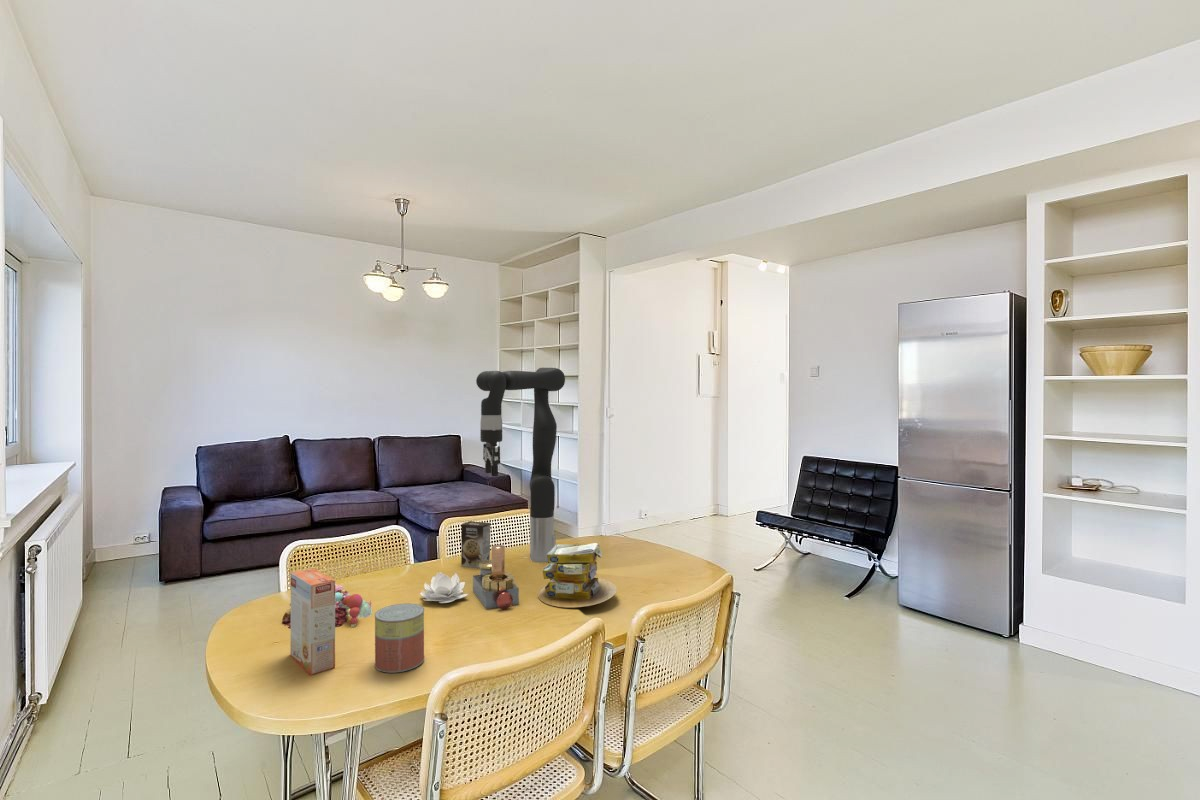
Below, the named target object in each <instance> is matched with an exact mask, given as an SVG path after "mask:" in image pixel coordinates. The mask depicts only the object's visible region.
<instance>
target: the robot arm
mask: <svg viewBox="0 0 1200 800" xmlns="http://www.w3.org/2000/svg"><path fill="white" fill-rule="evenodd" d="M475 381H476V383H475V384H476V386H477V388H478V389H480V390H481V391H484V392H488V396H487V397H486V398H483V399H482V400H481V403H480V411H481V412H480V424H479V425H480V437H479V438H480V442H481V443H483V444H482V445H483V447H482V448H483V449H482V451H483V452H482V453H483V456H482V457H483V458H482V459H483V461H484V464H485V465H484V472H485V473H486V474H491V477H497V476H499V465H500V464H501V446H499V445H498V443H500V442H503V414H502V410H503V409H502V408H503V407H502V402H503V399H504V396H505V392H506V391H519V390H531V389H533V395H534V397H533V399H534V400H533V401H534V409H533V424H532V425H533V427H532V469H531V474H530V475H531V476H530V480H529V489H530V507H529V508H530V510H529V543H530V544H529V549H530V550H529V555H530V556H529V559H530V561H531V560H532V562H534V563H542V562H543V563H548V558H547V554H548V552H549V551H550V550H551V549H552V548H553V547H554V546H555V545H557V544H556V540H557V539H556V538H557V537H556V535H555V534H554V533H555V531H554V530H555V529H554V528H555V523H554V522H555V521H554V519H555V517H554V515H555V504H556V503H555V499H556V498H555V497H556V496H555V495H556V494H555V493H556V492H555V491H556V489H555V488H556V487H555V483H554V481H553V479H552V462H553V455H554V452H555V448H556V442H557V431H558V430H557V428H558V427H557V422H556V418H555V416H554V413H553V412H552V410H551V408H550V403H549V401H550V400H549V392H557V391H560V390H561V389H563V387H564V386H565V384H566V375H565V374H564V371H563V370H561V369H560V368H556V367H539V368H538V369H536V370H535V371H526V370H505V371H500V370H486V371H485V370H484V371H482V372H480V373H479V374H478V375H477V377H476V380H475Z"/></svg>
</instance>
